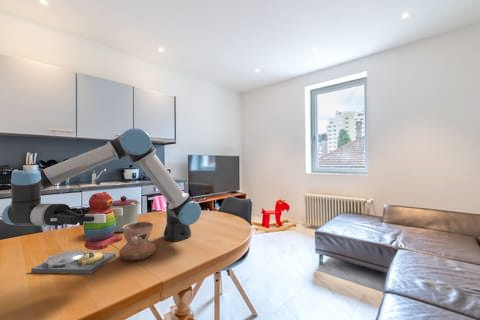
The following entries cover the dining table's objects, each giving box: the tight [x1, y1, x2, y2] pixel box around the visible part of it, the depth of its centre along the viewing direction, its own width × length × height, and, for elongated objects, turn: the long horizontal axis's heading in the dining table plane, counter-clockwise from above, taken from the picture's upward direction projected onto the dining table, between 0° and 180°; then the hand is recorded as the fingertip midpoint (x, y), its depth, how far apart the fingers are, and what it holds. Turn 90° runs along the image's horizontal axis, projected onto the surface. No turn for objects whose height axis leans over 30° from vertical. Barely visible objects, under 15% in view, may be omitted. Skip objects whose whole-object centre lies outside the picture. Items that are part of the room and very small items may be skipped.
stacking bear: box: [83, 191, 123, 251], centre depth 76 cm, size 11×10×18 cm
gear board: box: [30, 250, 117, 275], centre depth 91 cm, size 24×15×5 cm, turn 87°
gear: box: [42, 249, 89, 269], centre depth 91 cm, size 15×15×2 cm
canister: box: [110, 195, 140, 233], centre depth 136 cm, size 18×18×21 cm
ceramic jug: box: [118, 221, 156, 262], centre depth 97 cm, size 18×14×14 cm
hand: (113, 214), depth 76 cm, fingers closed on stacking bear, 9 cm apart
